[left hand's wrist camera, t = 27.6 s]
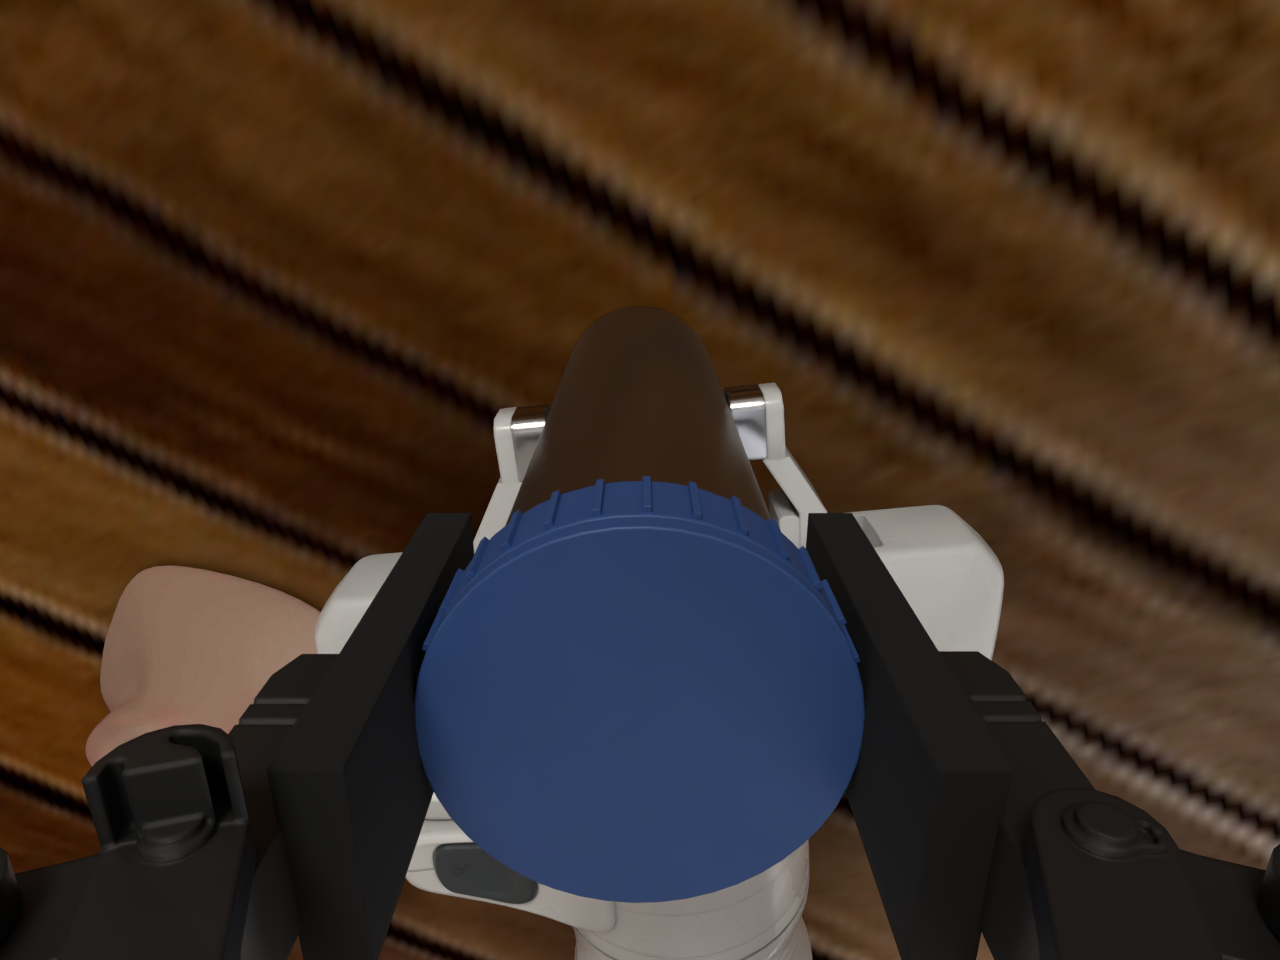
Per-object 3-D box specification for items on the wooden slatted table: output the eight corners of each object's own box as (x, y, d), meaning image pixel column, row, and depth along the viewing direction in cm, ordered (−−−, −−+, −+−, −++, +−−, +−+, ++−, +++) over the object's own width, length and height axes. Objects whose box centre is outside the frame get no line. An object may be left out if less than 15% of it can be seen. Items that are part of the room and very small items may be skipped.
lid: (698, 878, 14) (705, 965, 12) (367, 718, 12) (329, 792, 11) (926, 607, 12) (968, 670, 10) (565, 392, 11) (552, 428, 9)
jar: (719, 311, 28) (853, 541, 10) (705, 453, 30) (799, 853, 12) (569, 301, 28) (450, 517, 10) (564, 444, 30) (455, 835, 12)
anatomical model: (-3, 613, 28) (339, 620, 28) (74, 561, 31) (374, 567, 31) (82, 910, 32) (374, 914, 32) (140, 834, 36) (402, 838, 36)
